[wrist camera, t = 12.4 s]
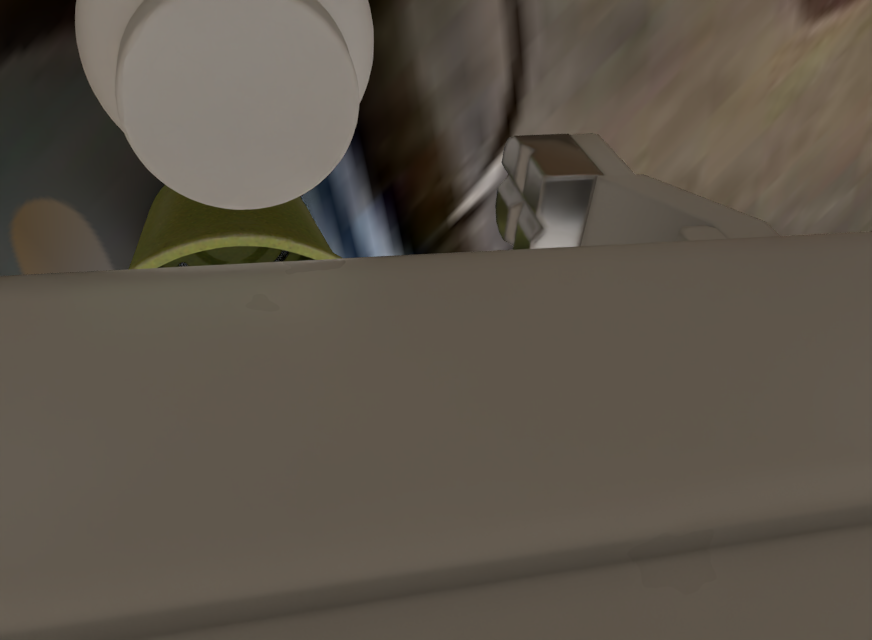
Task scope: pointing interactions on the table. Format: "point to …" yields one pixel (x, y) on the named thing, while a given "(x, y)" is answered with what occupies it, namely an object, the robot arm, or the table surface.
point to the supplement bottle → (230, 89)
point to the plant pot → (225, 234)
